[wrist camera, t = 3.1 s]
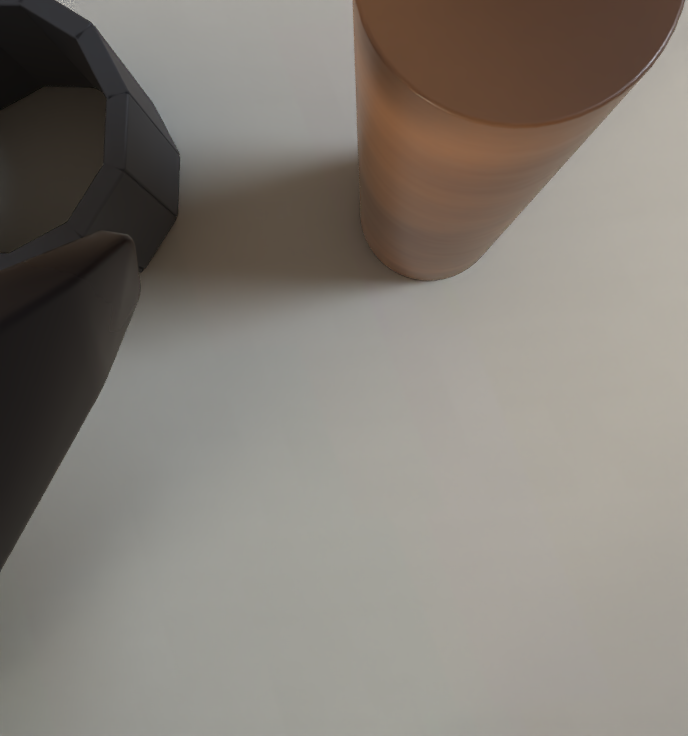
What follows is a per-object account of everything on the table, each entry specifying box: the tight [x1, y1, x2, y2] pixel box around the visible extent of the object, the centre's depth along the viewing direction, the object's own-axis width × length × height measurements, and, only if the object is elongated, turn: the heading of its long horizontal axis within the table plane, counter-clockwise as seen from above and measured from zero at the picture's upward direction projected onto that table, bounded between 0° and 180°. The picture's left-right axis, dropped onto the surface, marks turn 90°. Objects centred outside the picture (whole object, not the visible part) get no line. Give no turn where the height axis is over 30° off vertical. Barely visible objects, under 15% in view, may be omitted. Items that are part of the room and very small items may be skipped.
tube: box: [0, 0, 180, 273], centre depth 18 cm, size 8×8×4 cm
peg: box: [353, 0, 685, 280], centre depth 14 cm, size 4×4×12 cm
